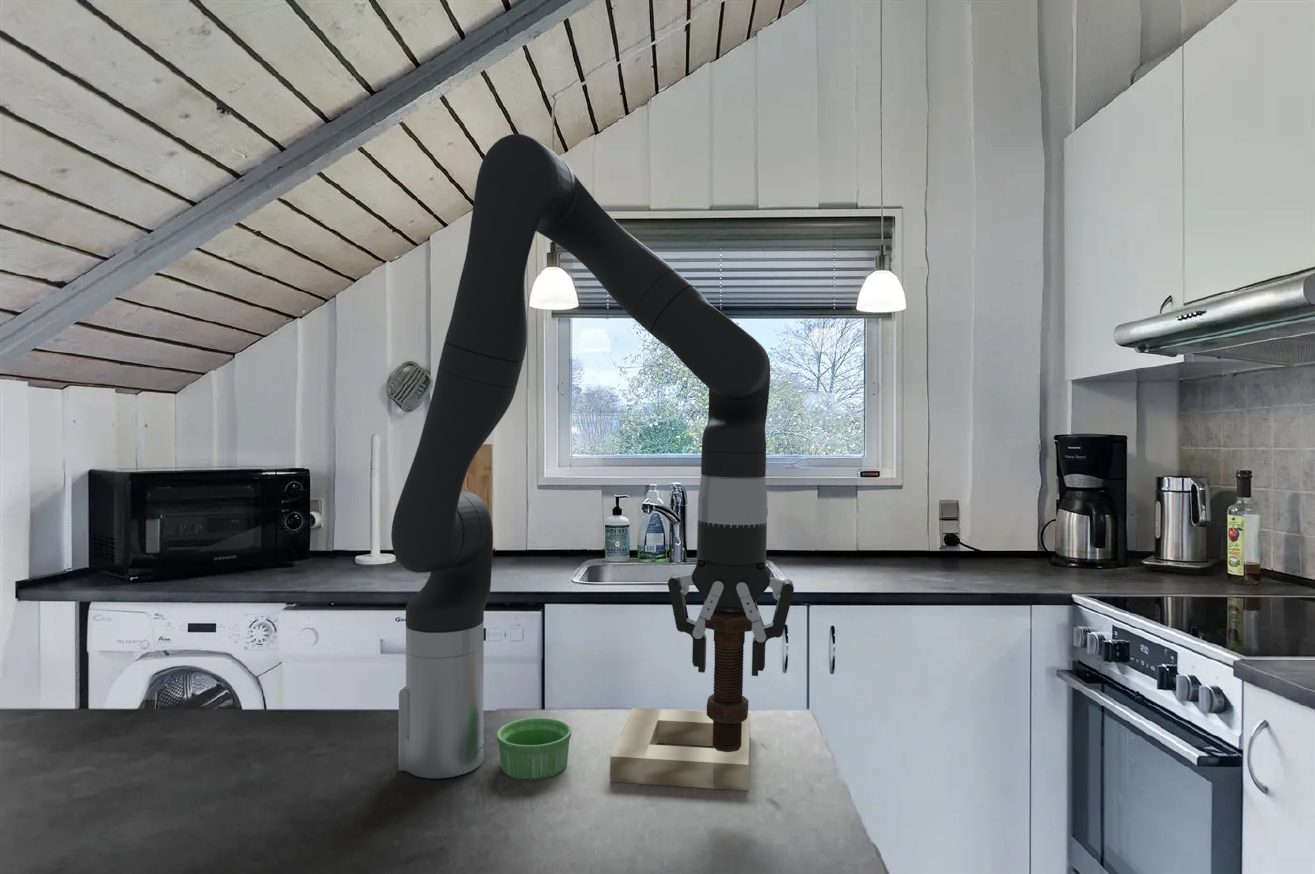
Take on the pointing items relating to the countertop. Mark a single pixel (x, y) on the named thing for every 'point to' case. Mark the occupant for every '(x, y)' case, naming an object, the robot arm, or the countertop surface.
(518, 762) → the ramekin
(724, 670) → the bolt
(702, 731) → the frame
